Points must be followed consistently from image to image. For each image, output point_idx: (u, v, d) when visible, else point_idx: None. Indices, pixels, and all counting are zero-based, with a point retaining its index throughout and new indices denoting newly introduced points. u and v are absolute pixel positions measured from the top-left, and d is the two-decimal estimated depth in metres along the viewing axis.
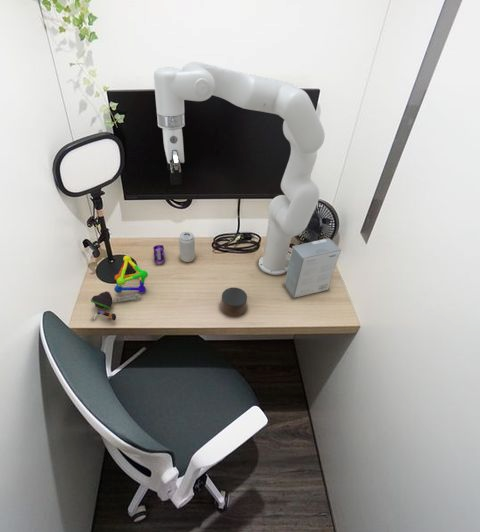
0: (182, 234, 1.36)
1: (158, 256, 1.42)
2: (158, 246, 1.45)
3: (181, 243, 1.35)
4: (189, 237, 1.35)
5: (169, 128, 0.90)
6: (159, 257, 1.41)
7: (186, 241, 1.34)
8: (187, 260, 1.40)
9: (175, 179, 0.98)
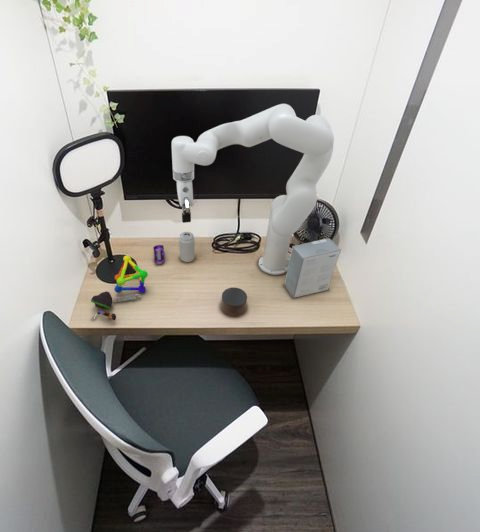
0: (182, 234, 1.36)
1: (158, 256, 1.42)
2: (158, 246, 1.45)
3: (181, 243, 1.35)
4: (189, 237, 1.35)
5: (182, 181, 1.15)
6: (159, 257, 1.41)
7: (186, 241, 1.34)
8: (187, 260, 1.40)
9: (186, 218, 1.23)
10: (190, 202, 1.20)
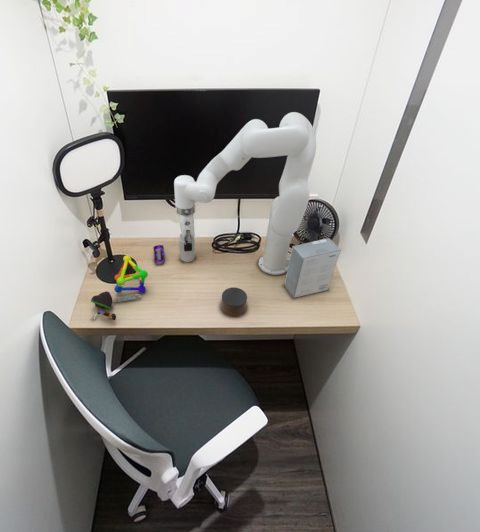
0: None
1: (158, 256, 1.42)
2: (158, 246, 1.45)
3: (181, 243, 1.35)
4: None
5: (184, 216, 1.25)
6: (159, 257, 1.41)
7: None
8: (187, 260, 1.40)
9: (187, 248, 1.34)
10: (191, 235, 1.30)
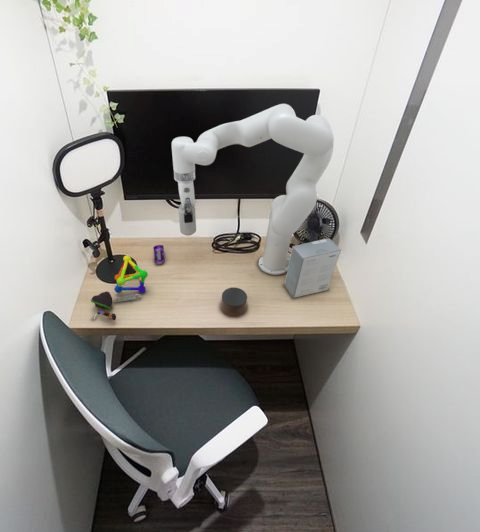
0: None
1: (158, 256, 1.42)
2: (158, 246, 1.45)
3: (181, 214, 1.26)
4: None
5: (183, 182, 1.16)
6: (159, 257, 1.41)
7: None
8: (188, 233, 1.31)
9: (188, 219, 1.25)
10: (192, 204, 1.21)
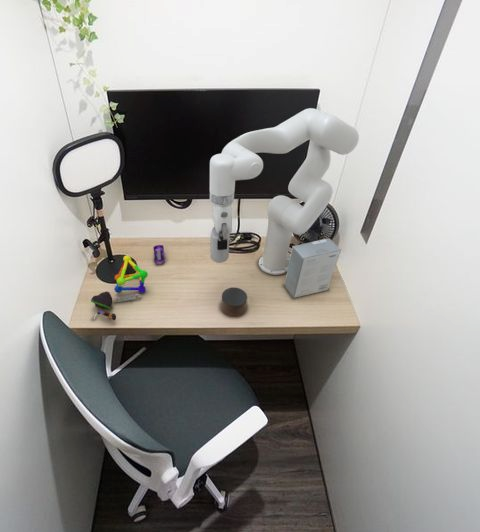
0: (215, 229, 1.11)
1: (158, 256, 1.42)
2: (158, 246, 1.45)
3: (214, 240, 1.10)
4: None
5: (221, 205, 1.00)
6: (159, 257, 1.41)
7: None
8: (220, 261, 1.15)
9: (222, 246, 1.09)
10: (228, 230, 1.05)
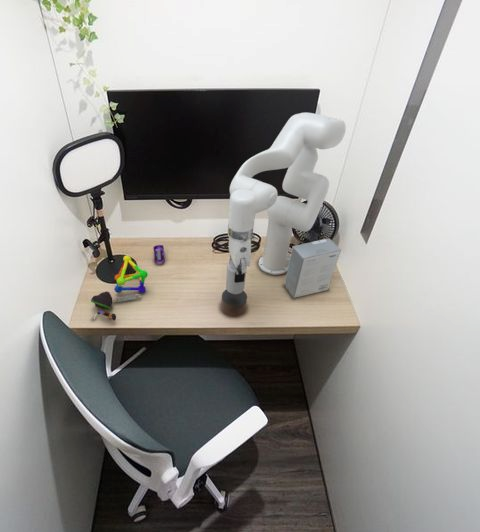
0: (231, 261, 1.09)
1: (158, 256, 1.42)
2: (158, 246, 1.45)
3: (230, 272, 1.08)
4: None
5: (240, 240, 0.98)
6: (159, 257, 1.41)
7: None
8: (236, 292, 1.13)
9: (239, 279, 1.07)
10: (247, 264, 1.03)
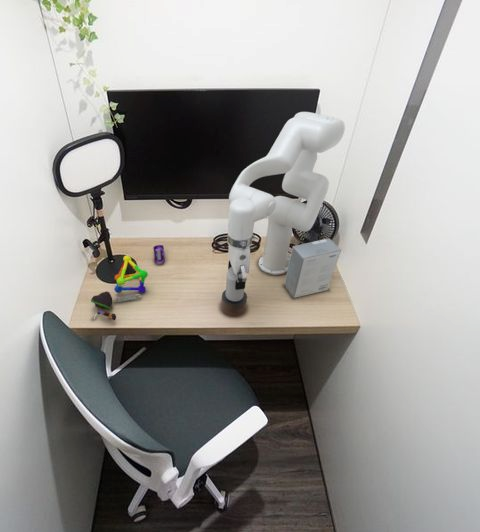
0: (231, 269, 1.11)
1: (158, 256, 1.42)
2: (158, 246, 1.45)
3: (230, 281, 1.10)
4: None
5: (239, 248, 1.00)
6: (159, 257, 1.41)
7: None
8: (235, 300, 1.15)
9: (240, 286, 1.07)
10: (246, 269, 1.04)
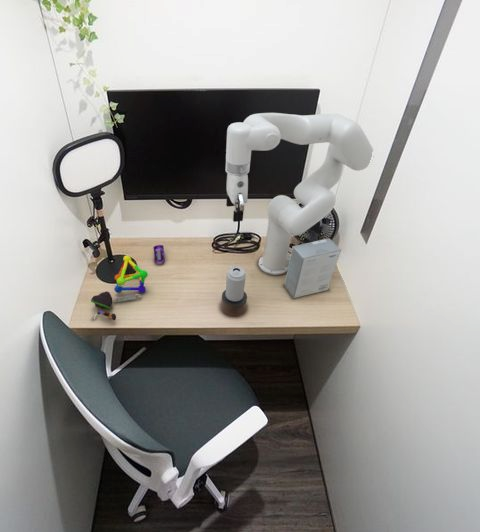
0: (231, 269, 1.11)
1: (158, 256, 1.42)
2: (158, 246, 1.45)
3: (230, 281, 1.10)
4: (240, 273, 1.10)
5: (237, 174, 1.01)
6: (159, 257, 1.41)
7: (237, 279, 1.09)
8: (235, 300, 1.15)
9: (238, 217, 1.09)
10: (244, 198, 1.06)
